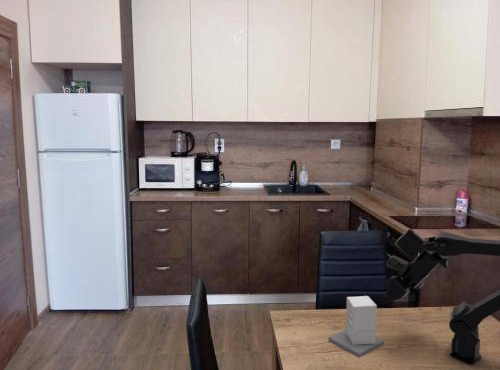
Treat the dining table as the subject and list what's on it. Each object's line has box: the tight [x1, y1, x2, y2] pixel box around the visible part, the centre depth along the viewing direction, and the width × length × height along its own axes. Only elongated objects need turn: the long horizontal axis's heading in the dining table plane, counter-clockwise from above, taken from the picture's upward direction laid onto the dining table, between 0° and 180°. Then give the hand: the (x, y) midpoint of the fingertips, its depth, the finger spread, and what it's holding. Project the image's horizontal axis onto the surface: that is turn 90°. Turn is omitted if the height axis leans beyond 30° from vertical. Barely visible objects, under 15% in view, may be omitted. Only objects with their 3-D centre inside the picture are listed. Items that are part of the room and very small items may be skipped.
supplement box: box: [345, 295, 378, 345], centre depth 128 cm, size 7×7×13 cm
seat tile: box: [328, 328, 385, 358], centre depth 129 cm, size 12×12×1 cm
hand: (388, 300), depth 130 cm, fingers open, 9 cm apart
